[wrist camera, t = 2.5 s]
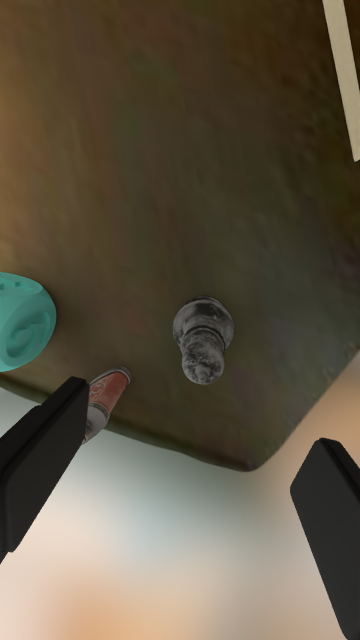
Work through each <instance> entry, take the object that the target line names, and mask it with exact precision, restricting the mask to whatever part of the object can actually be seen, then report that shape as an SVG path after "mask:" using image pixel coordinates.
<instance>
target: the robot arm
mask: <svg viewBox="0 0 360 640" xmlns="http://www.w3.org/2000/svg"><path fill="white" fill-rule="evenodd" d="M89 392H90V385H89V384H87V381H86V380H85V379H81V378H77V377H73V376H72V377H70V378H69V379H68V380H67V381H66V382H65V383H63V384H62V385H61V386H60V387H59V388H58V389H57V390H56V391H55V392H54V393H53V394H52V395H51V396H50V397H49V398H48V399H47V400H46V401H45V402H44V403H42V404H41V405H38V406H35V407H34V408H32V409H31V410H30V411H29V412H28V413H27V414H25V415H24V416H23V417H22V418H21V419H20V420H19V421H18V422H17V423H16V424H15V425H14V426H13V427H12V428H10V429H9V430H8V431H7V432H6V433H5V434H4V435H3V436H2V437H1V438H0V564H1V562H2V561H3V559H4V558H5V556H6V554H7V553H8V552H13V551H15V549H16V548H17V547H18V545H19V544H20V542H21V541H22V539H23V537H24V536H25V534H26V533H27V531H28V529H29V528H30V526H31V525H32V523H33V521H34V520H35V518H36V517H37V515H38V513H39V512H40V510H41V509H42V507H43V505H44V504H45V502H46V501H47V499H48V497H49V496H50V494H51V493H52V491H53V489H54V488H55V486H56V484H57V483H58V481H59V479H60V478H61V476H62V475H63V473H64V472H65V470H66V468H67V467H68V465H69V464H70V462H71V460H72V459H73V457H74V455H75V454H76V452H77V450H78V449H79V447H80V446H81V444H82V442H83V440H84V438H85V433H86V423H87V413H88V402H89ZM290 493H291V497H292V500H293V503H294V505H295V508H296V510H297V513H298V516H299V519H300V521H301V524H302V527H303V529H304V532H305V535H306V537H307V540H308V543H309V545H310V548H311V551H312V553H313V556H314V559H315V561H316V564H317V567H318V569H319V572H320V575H321V577H322V580H323V583H324V585H325V588H326V591H327V594H328V596H329V599H330V601H331V604H332V607H333V610H334V612H335V615H336V618H337V620H338V623H339V626H340V628H341V630H342V633H343V634H344V636H345V637H346V639H347V640H360V468H359V467H358V466H357V464H356V463H355V462H354V460H353V459H352V458H351V456H350V455H349V454H348V452H347V451H346V450H345V448H344V447H343V445H342V444H341V443H340V442H338V441H335V440H331V439H327V438H320V439H319V440H317V441H315V442H314V444H313V446H312V448H311V450H310V451H309V453H308V455H307V457H306V459H305V460H304V462H303V464H302V466H301V468H300V469H299V471H298V473H297V475H296V477H295V479H294V480H293V482H292V484H291V487H290Z"/></svg>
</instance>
